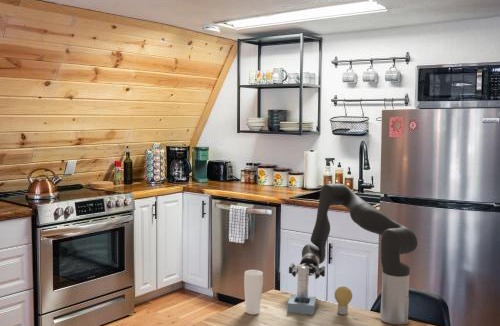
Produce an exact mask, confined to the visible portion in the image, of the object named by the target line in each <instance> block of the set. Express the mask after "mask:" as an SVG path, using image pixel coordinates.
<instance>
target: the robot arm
mask: <svg viewBox="0 0 500 326" xmlns="http://www.w3.org/2000/svg"><path fill="white" fill-rule="evenodd" d="M332 206H342V207H345V208H346V209H348V210H349V216H350V219H351V220H352V221H353V223H355V224H357V225H358V226H359V227H360V228H362V229H363V230H365V231H367V232H370V233H373V234H376V235H379V236H381V239H380V240H381V241H380V260H381V261H380V262H381V266H382V267H381V268H382V273H381V275H382V277H381V279H382V280H381V295H380V297H381V298H380V316H379V317H380V320H381V322H384V323H386V324H390V325H397V326H398V325H408V320H409V304H410V303H409V301H410V297H409V291H410V290H409V289H410V271H411V269H410V266H409V265H408V264H407V263H404V262H401V256H400V255H405V254H406V255H407V254H411V253H412V252H414V251H415V250H416V249H417V247H418V239H417V237H416V234H415V233H414V232H413V231H412V229H410V228H409V227H407V226H405V225H403V224H400V223H399V222H397V221H395V220H393V219H391V218H390V217H389V216H388V215H386V214H385V213H383V212H382V211H380V210H379V209H378V208H376V207H374V206H373V204H370V203H368V202H367V201H365V200H364V199H363V198H361V197H359V196H358V195H357V194H355V193H354V191H352V189H350V188H349V187H348V186H347V185H345V184H342V183H325V184H324V185H323V186H322V187H321V190H320V193H319V199H318V205H317V212H316V220H315V224H314V227H313V230H312V233H311V235H310V242H311V243H312V244H309V243H308V244H304V246H303V247H302V250H301V257H302V258H301V260H300V263H299V264H298V265H296V264H295V263H291V264H290V265H289V266H288V267H289V268H288V274H291V276H293V277H296V276H297V275H298V266H308V267H309V277H310V276H314V277H315V279H314V280H317V279H319V278H320V277H325V276H326V267H325V266H324V265H323V266H320V264H323V263H324V262H325V259H326V248H327V247H326V246H327V245H326V244H327V241H328V239H329V236H330V232H331V223H330V220H329V216H328V212H329V209H330V207H332Z"/></svg>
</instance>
